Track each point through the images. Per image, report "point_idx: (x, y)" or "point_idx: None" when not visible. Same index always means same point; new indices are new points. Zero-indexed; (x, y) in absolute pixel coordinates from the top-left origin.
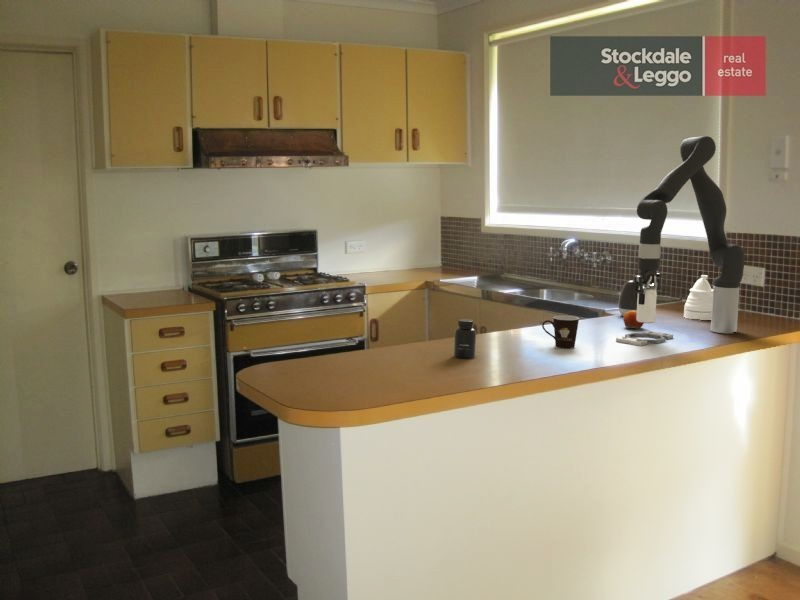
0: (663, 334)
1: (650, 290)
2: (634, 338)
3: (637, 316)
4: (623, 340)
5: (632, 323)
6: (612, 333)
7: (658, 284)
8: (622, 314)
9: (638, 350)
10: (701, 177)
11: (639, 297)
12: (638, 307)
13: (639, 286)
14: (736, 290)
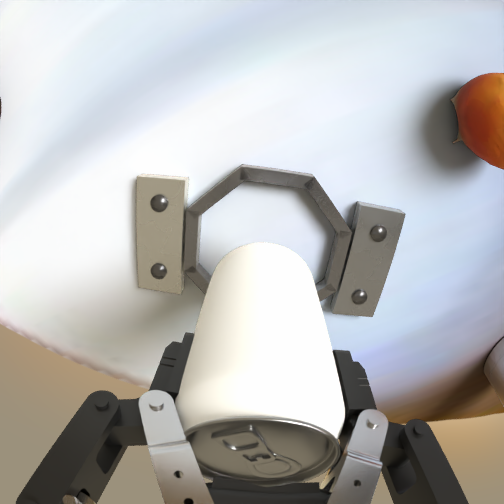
0: (355, 292)
1: (210, 471)
2: (188, 237)
3: (217, 271)
4: (138, 211)
5: (460, 122)
6: (310, 72)
7: (389, 491)
8: None
9: (84, 298)
10: None
11: (156, 376)
12: (202, 310)
13: (149, 451)
14: None
